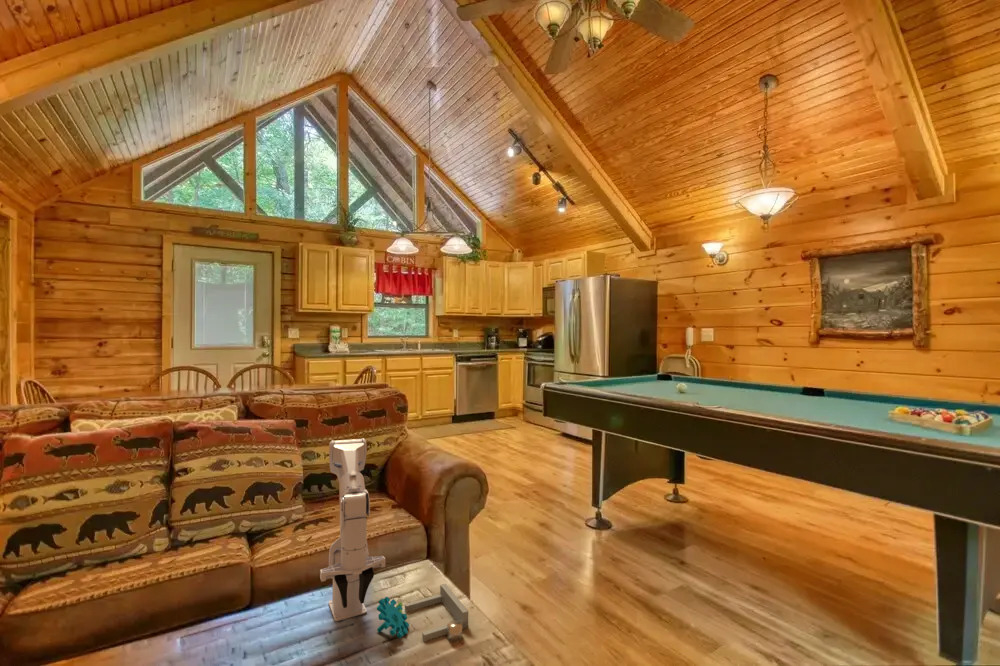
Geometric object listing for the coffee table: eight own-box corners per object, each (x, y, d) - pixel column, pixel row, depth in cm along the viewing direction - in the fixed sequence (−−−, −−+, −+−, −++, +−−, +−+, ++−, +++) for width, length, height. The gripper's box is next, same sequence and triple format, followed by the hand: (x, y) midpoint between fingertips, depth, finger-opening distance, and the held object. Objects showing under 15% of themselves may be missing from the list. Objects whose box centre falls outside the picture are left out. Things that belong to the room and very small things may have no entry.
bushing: (444, 635, 114) (444, 622, 114) (458, 630, 116) (458, 618, 116) (450, 643, 111) (450, 631, 111) (464, 639, 113) (464, 626, 113)
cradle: (404, 609, 124) (404, 594, 124) (445, 598, 130) (445, 583, 130) (424, 641, 112) (424, 624, 112) (468, 627, 117) (468, 611, 117)
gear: (401, 641, 109) (375, 605, 111) (383, 659, 109) (356, 622, 111) (417, 619, 120) (392, 587, 122) (400, 635, 120) (376, 602, 122)
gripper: (324, 559, 103) (323, 621, 103) (389, 545, 111) (388, 603, 111) (318, 546, 110) (317, 605, 110) (381, 534, 117) (380, 589, 117)
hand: (352, 603), depth 111 cm, fingers open, 3 cm apart
